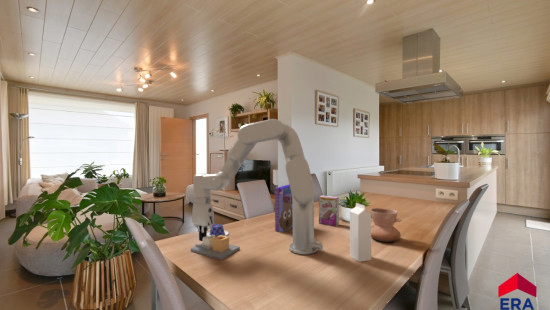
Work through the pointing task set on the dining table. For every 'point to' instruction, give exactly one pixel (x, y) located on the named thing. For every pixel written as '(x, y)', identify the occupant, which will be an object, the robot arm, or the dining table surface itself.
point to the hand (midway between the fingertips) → (202, 239)
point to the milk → (360, 233)
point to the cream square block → (208, 240)
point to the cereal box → (283, 208)
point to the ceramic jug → (384, 225)
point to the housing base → (212, 253)
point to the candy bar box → (329, 210)
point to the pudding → (217, 230)
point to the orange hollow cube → (220, 243)
